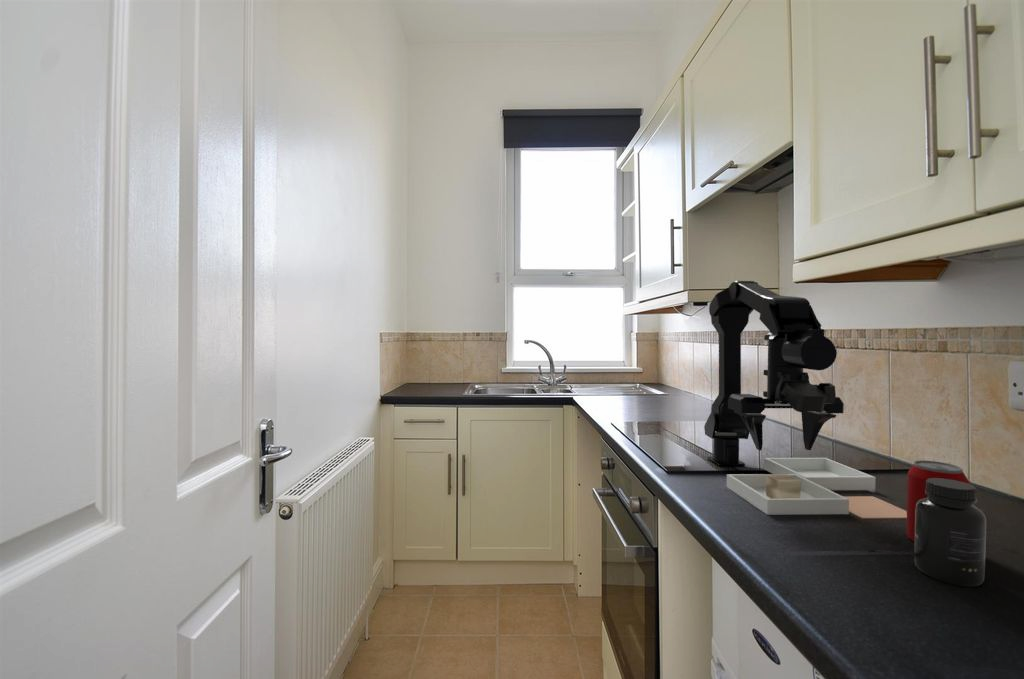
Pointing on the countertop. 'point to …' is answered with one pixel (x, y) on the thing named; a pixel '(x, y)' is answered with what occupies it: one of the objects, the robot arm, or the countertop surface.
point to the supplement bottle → (950, 533)
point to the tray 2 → (822, 473)
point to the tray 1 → (810, 502)
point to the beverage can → (918, 485)
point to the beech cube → (782, 487)
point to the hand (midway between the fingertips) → (783, 449)
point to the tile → (874, 508)
